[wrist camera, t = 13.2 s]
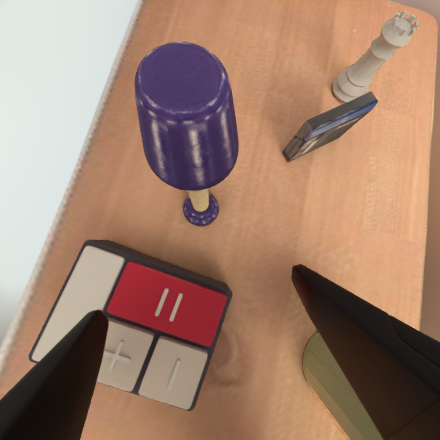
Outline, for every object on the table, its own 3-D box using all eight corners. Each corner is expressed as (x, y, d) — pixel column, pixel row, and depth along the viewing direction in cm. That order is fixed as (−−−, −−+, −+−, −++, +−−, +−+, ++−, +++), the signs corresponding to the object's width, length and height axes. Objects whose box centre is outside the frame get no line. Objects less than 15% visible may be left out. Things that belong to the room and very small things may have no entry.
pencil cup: (382, 379, 20) (548, 506, 10) (325, 418, 19) (448, 599, 9) (346, 313, 21) (468, 373, 11) (289, 348, 20) (368, 447, 10)
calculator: (192, 421, 15) (15, 367, 14) (194, 383, 19) (57, 339, 19) (235, 293, 17) (80, 237, 16) (228, 283, 21) (105, 238, 20)
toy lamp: (177, 194, 22) (81, 32, 5) (213, 182, 22) (226, 0, 6) (190, 231, 21) (127, 176, 5) (226, 217, 22) (283, 127, 5)
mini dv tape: (287, 162, 23) (314, 133, 17) (281, 152, 24) (306, 120, 18) (338, 137, 24) (380, 102, 18) (332, 128, 25) (372, 91, 19)
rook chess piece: (341, 109, 25) (402, 46, 17) (324, 84, 26) (376, 10, 18) (366, 97, 26) (436, 31, 18) (349, 72, 26) (410, -3, 18)
